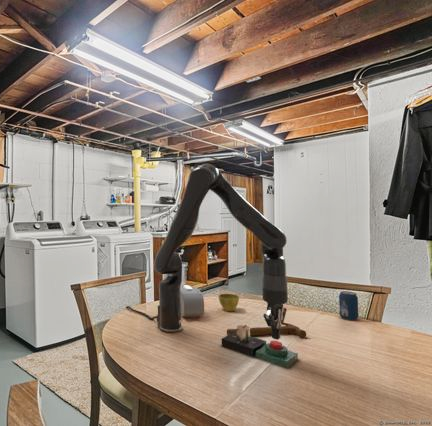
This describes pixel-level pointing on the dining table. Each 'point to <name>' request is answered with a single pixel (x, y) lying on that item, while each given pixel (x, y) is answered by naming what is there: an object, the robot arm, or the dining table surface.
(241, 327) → the dial
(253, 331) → the hammer
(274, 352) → the switchbox
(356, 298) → the soda can
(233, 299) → the flower pot
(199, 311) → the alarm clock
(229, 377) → the dining table surface
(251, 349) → the panel
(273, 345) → the button
